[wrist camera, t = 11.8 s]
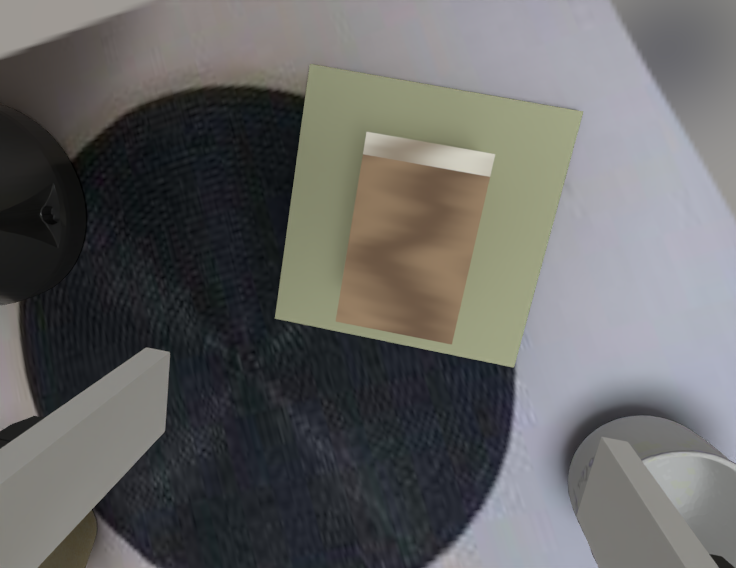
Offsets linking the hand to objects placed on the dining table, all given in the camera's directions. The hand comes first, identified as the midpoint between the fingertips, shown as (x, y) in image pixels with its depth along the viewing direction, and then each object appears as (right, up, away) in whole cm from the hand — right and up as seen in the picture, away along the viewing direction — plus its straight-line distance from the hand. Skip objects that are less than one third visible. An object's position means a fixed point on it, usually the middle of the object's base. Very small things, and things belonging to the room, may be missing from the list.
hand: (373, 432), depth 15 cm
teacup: (+20, -10, +24) cm, 33 cm away
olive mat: (+3, +9, +21) cm, 23 cm away
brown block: (+2, +2, +18) cm, 18 cm away
